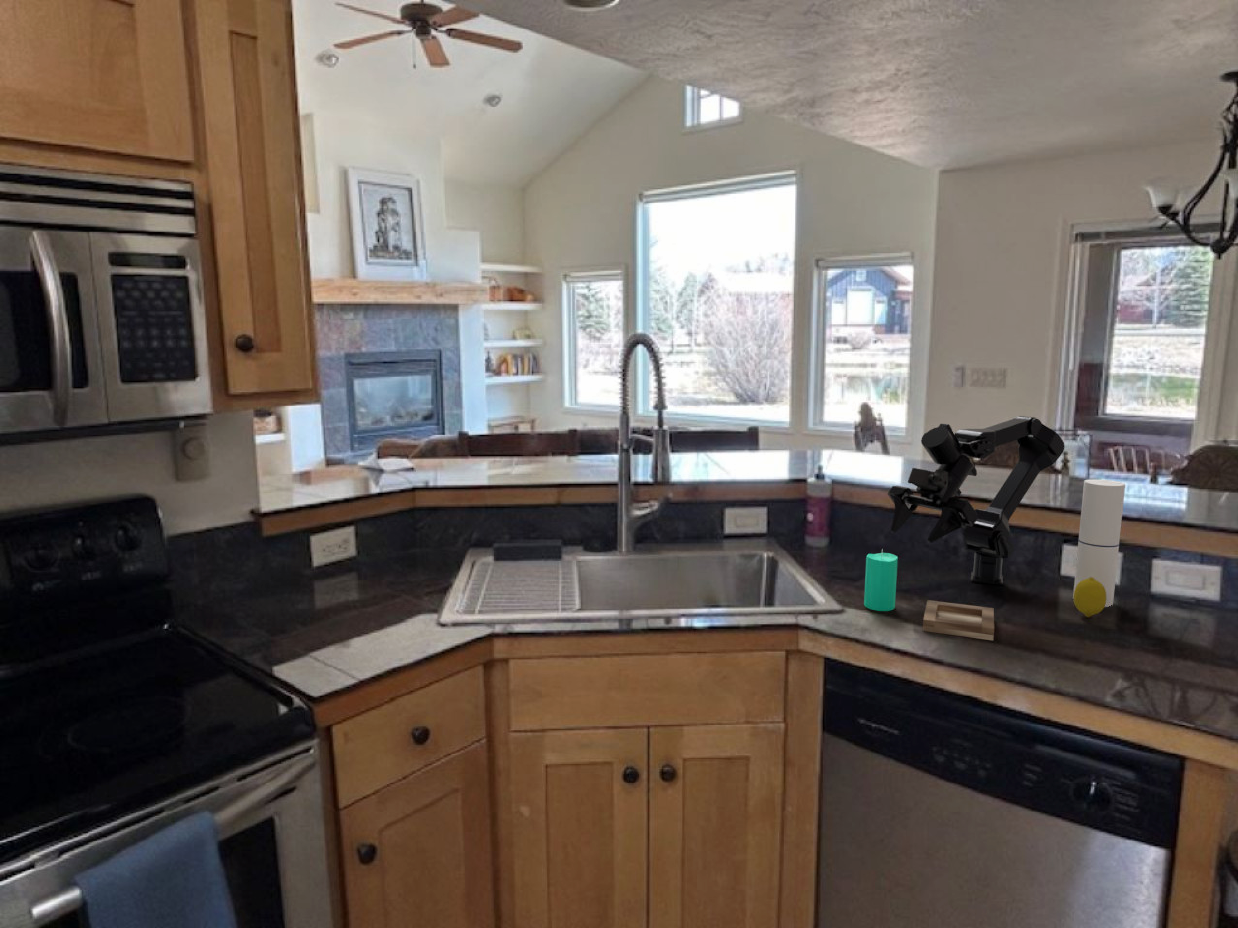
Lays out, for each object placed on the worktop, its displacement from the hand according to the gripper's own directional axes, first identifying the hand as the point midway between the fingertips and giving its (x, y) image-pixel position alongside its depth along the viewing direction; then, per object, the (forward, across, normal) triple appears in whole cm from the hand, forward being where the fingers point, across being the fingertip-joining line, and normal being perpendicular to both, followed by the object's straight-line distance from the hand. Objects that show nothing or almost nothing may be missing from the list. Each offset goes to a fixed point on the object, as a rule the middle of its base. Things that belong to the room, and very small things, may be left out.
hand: (910, 536), depth 166 cm
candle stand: (+12, +15, +7) cm, 21 cm away
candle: (+15, 0, +4) cm, 16 cm away
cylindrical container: (-13, +21, +32) cm, 41 cm away
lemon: (-6, +25, +25) cm, 36 cm away
